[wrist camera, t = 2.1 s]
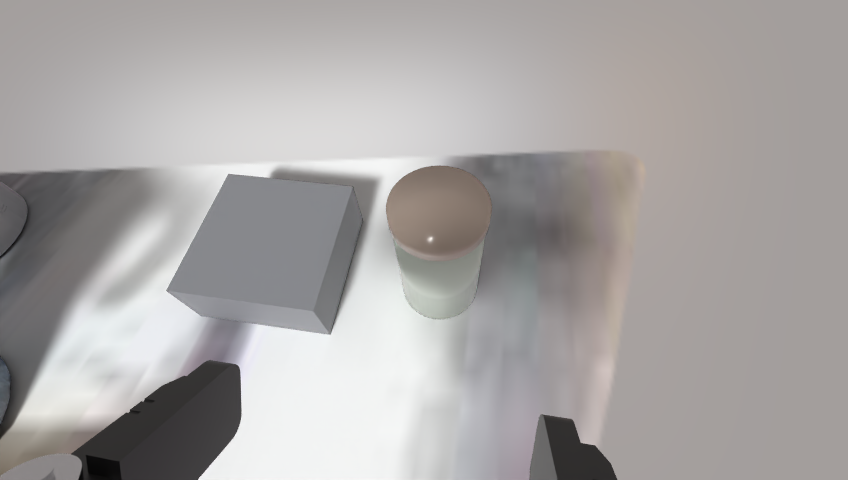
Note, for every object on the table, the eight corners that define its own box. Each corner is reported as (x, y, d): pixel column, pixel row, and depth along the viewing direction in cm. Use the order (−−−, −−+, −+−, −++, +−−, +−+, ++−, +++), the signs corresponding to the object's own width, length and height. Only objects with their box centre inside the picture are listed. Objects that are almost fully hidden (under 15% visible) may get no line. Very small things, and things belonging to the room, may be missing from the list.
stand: (201, 315, 27) (166, 290, 24) (251, 207, 32) (228, 174, 28) (330, 334, 26) (313, 310, 23) (362, 220, 31) (352, 186, 27)
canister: (395, 315, 27) (375, 244, 19) (409, 247, 29) (397, 161, 22) (474, 325, 26) (487, 257, 18) (481, 255, 29) (495, 170, 21)
